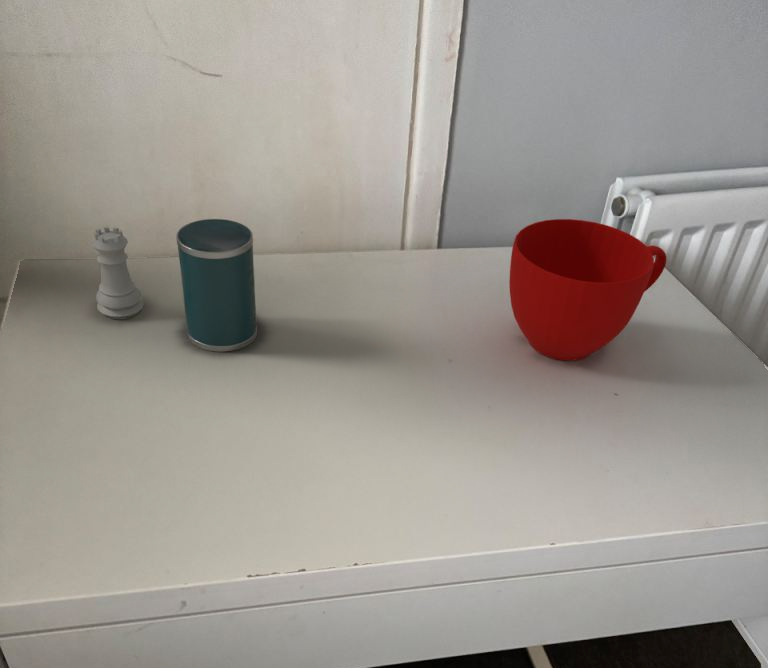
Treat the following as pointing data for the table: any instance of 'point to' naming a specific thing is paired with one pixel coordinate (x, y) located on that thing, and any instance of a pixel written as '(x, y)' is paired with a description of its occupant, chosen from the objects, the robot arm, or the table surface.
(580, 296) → the ceramic cup
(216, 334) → the tin can
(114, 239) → the rook chess piece
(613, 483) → the table surface
